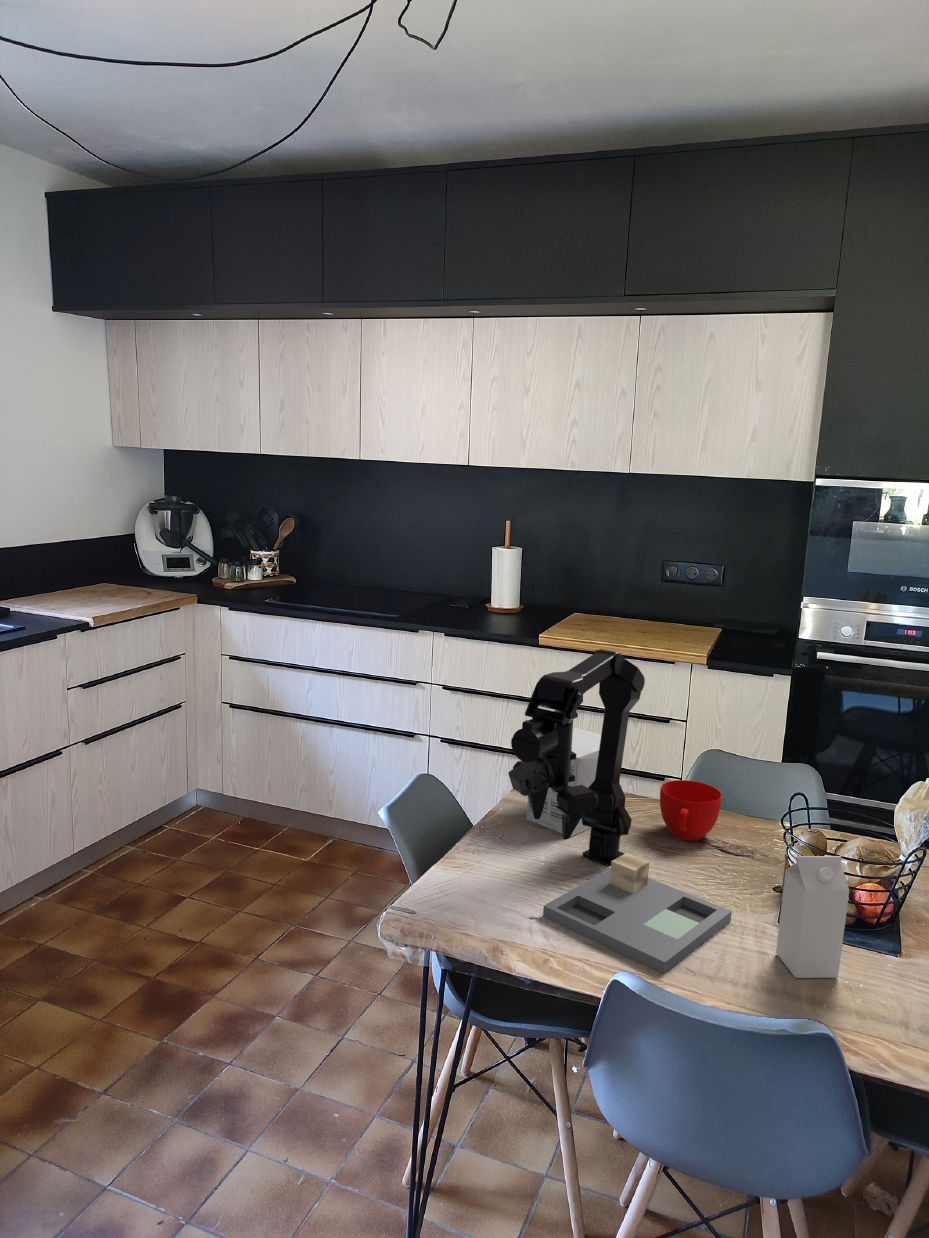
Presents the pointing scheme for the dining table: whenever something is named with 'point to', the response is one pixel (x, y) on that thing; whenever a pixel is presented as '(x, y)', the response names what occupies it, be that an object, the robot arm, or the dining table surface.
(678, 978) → the dining table surface
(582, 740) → the supplement box
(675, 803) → the ceramic cup
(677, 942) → the board
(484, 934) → the dining table surface
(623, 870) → the maple block
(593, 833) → the robot arm
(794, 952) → the milk carton
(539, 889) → the dining table surface
